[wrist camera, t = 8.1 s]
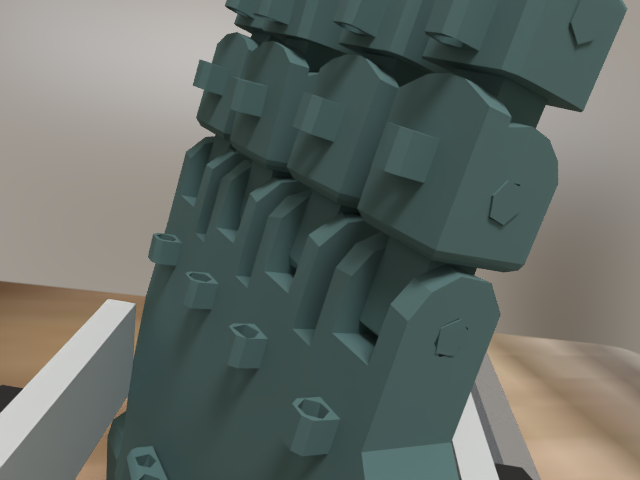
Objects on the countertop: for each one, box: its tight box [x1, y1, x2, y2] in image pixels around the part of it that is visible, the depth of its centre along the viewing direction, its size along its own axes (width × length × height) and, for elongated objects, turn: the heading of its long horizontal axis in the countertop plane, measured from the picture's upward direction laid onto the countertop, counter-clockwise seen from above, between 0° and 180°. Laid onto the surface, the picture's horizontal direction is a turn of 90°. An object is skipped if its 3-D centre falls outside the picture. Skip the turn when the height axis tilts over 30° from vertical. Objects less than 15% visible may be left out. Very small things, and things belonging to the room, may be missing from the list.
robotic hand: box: [106, 0, 627, 480], centre depth 13 cm, size 14×10×25 cm
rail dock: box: [471, 351, 541, 480], centre depth 33 cm, size 18×18×4 cm
